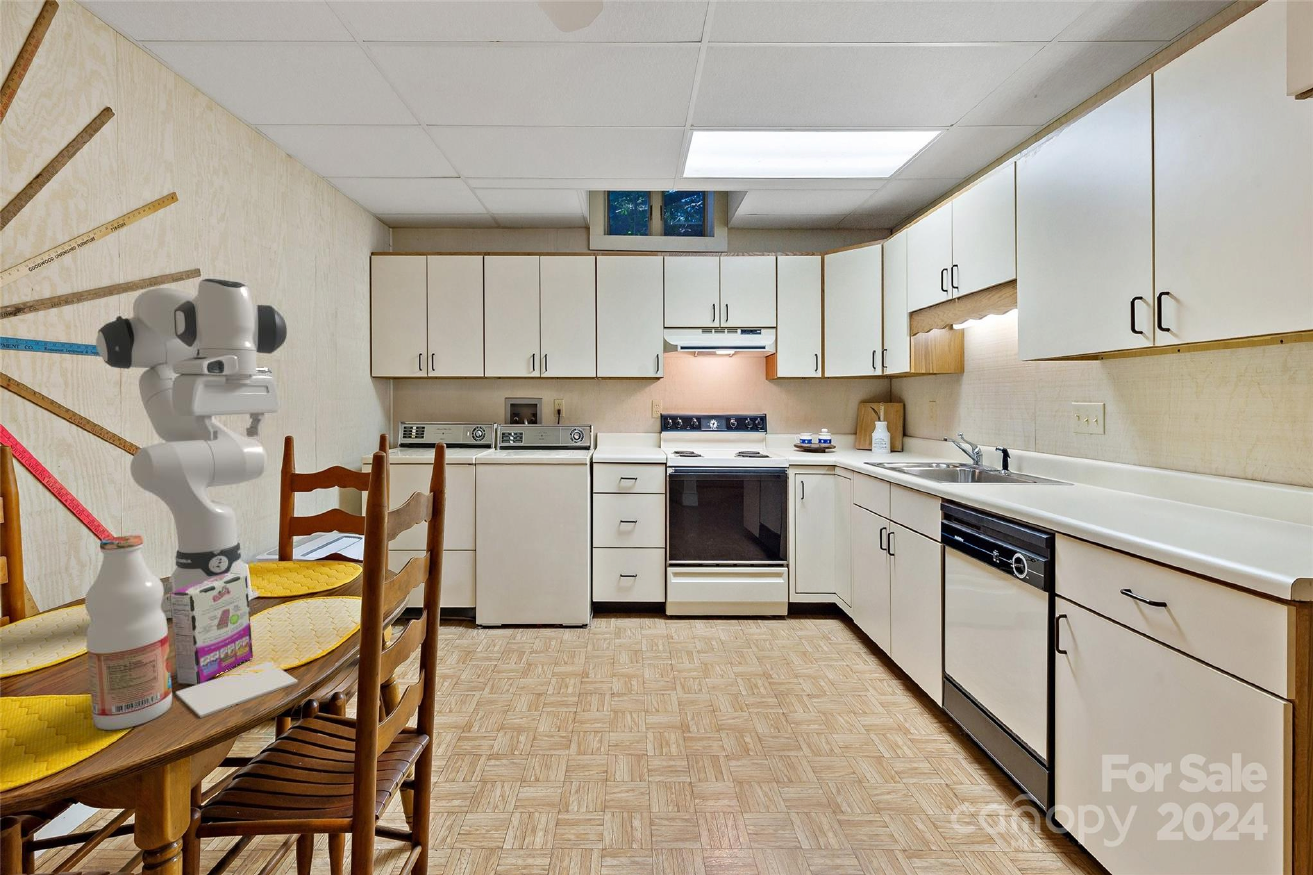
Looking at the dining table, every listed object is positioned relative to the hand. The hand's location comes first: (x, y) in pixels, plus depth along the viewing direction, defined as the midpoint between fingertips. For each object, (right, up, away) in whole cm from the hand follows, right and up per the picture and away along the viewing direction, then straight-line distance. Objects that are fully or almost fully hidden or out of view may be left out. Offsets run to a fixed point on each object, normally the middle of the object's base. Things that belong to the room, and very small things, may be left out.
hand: (232, 438), depth 116 cm
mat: (+10, -42, -13) cm, 46 cm away
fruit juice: (0, -43, -22) cm, 48 cm away
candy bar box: (+2, -42, -7) cm, 43 cm away
